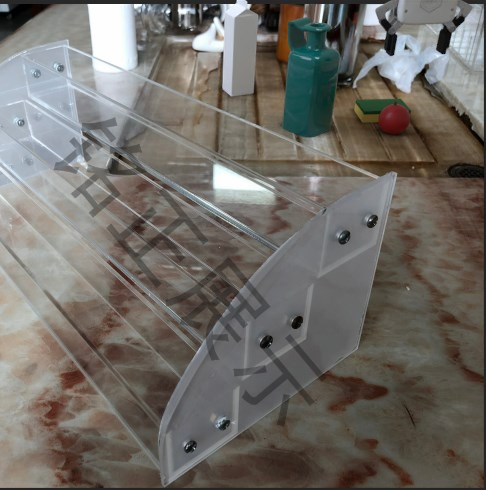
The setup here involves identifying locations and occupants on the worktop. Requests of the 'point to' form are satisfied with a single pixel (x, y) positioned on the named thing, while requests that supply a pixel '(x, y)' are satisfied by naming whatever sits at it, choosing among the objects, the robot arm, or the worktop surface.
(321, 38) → the pitcher
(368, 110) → the sponge
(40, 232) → the worktop surface
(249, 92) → the milk
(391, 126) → the apple
